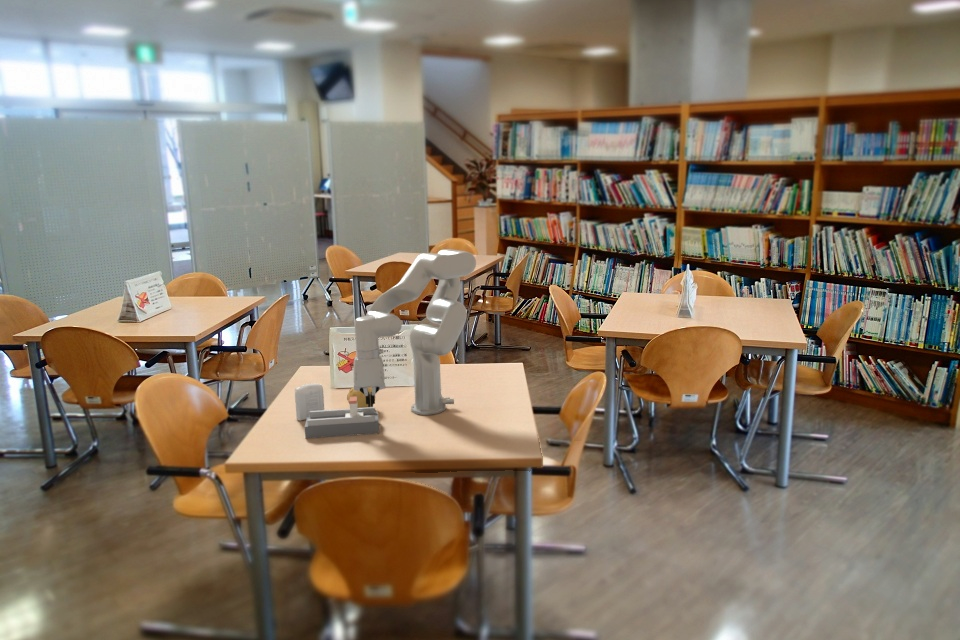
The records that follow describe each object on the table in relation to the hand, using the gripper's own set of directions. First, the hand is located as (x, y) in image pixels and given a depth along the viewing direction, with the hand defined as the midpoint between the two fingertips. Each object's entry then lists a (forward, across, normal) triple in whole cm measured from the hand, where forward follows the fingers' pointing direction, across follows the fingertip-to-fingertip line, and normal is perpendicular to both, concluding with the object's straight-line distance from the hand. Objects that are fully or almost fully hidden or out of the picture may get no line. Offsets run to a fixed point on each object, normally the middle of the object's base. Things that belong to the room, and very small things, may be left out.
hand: (370, 405), depth 245 cm
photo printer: (+8, +22, -15) cm, 28 cm away
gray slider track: (+8, +10, 0) cm, 13 cm away
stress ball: (+8, +4, -18) cm, 20 cm away
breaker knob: (+4, +6, 0) cm, 7 cm away
